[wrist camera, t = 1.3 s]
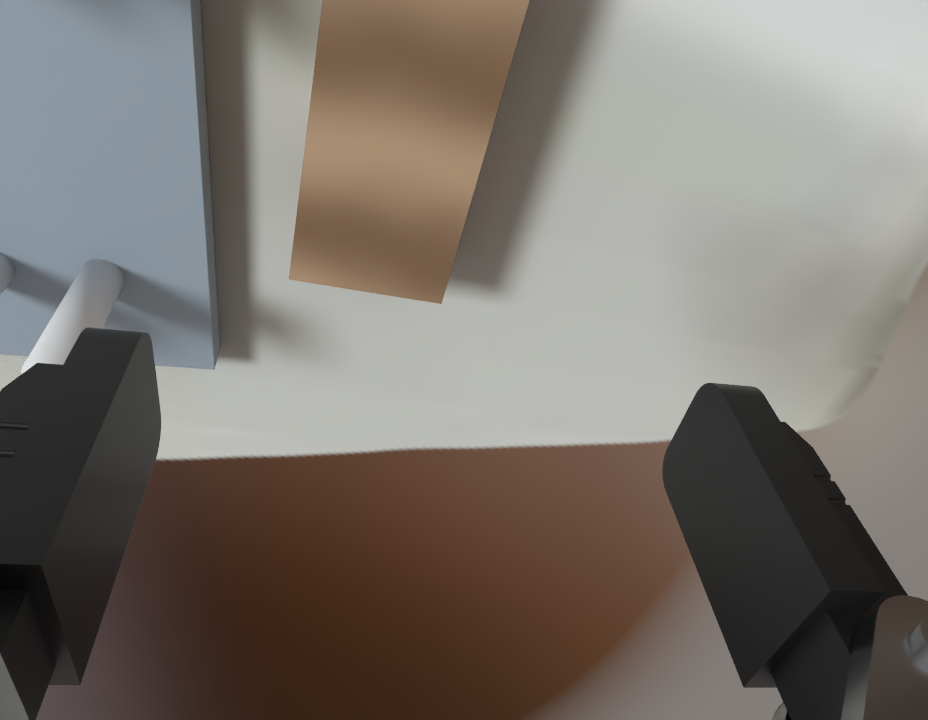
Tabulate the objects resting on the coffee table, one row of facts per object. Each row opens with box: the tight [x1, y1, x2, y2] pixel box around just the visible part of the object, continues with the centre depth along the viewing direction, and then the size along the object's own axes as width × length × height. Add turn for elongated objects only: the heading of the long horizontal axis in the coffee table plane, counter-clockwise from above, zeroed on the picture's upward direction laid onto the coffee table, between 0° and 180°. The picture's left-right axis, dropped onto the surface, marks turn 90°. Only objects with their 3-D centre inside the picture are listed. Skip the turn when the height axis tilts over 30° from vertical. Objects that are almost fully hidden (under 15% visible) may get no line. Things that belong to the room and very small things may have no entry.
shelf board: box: [289, 0, 530, 304], centre depth 23 cm, size 18×6×4 cm, turn 165°
